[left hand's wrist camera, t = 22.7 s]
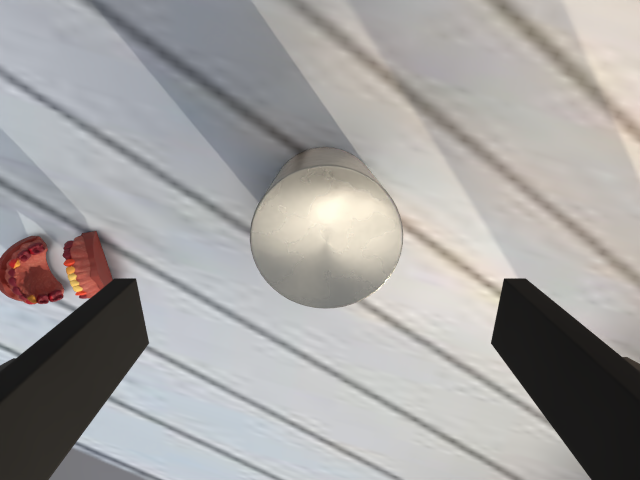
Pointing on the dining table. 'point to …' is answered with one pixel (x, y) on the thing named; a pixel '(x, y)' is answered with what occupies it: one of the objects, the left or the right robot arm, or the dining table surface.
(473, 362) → the dining table surface
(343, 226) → the tin
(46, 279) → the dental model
